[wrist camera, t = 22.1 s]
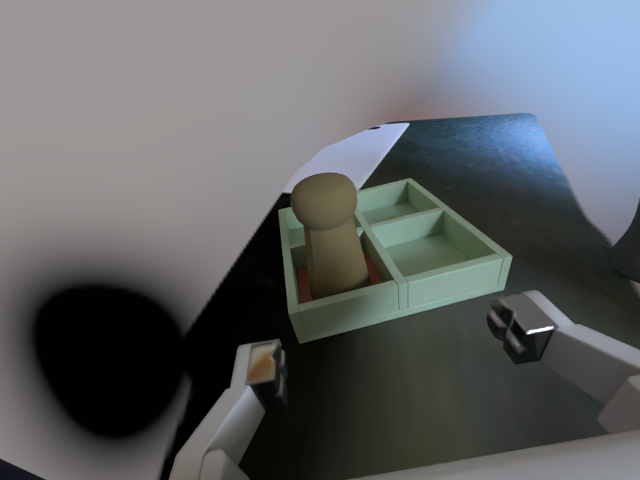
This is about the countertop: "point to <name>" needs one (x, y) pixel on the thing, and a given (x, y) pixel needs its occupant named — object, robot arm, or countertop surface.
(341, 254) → the cork
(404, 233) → the compartment tray
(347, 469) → the countertop surface
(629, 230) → the beer glass
